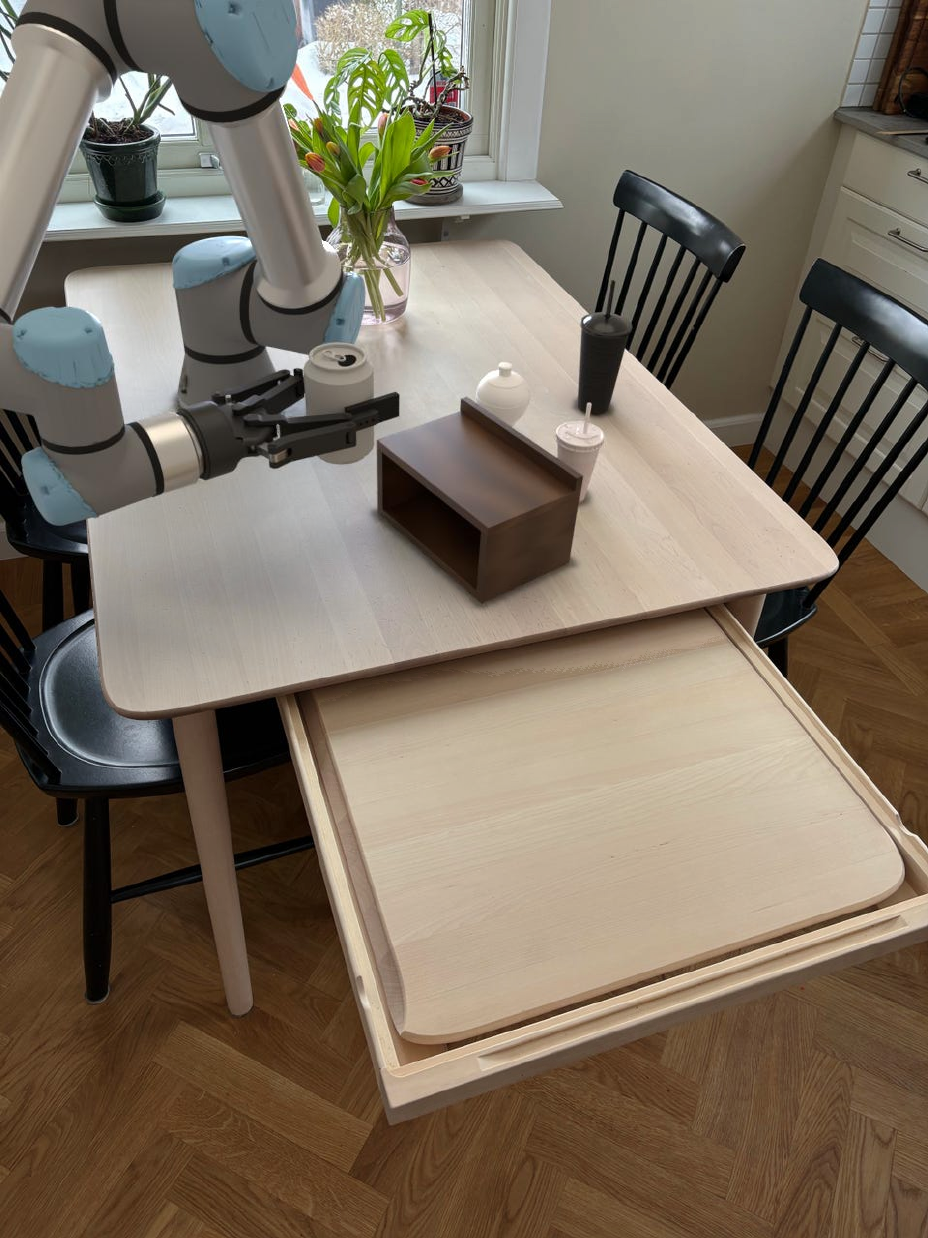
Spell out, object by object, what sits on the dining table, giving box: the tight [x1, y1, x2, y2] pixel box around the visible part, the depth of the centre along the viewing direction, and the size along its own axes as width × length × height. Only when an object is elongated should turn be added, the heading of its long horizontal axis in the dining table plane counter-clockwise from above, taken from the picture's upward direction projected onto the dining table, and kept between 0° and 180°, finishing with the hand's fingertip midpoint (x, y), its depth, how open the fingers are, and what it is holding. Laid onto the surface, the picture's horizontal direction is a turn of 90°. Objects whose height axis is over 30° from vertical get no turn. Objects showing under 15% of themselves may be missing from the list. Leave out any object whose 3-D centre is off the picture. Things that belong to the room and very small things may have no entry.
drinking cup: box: [577, 279, 633, 416], centre depth 143 cm, size 8×8×20 cm
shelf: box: [376, 396, 583, 604], centre depth 118 cm, size 14×22×13 cm, turn 38°
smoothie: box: [554, 403, 605, 503], centre depth 126 cm, size 6×6×14 cm
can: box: [302, 342, 375, 466], centre depth 106 cm, size 8×8×12 cm
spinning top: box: [475, 361, 531, 428], centre depth 137 cm, size 8×8×12 cm
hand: (376, 388), depth 108 cm, fingers closed on can, 7 cm apart
